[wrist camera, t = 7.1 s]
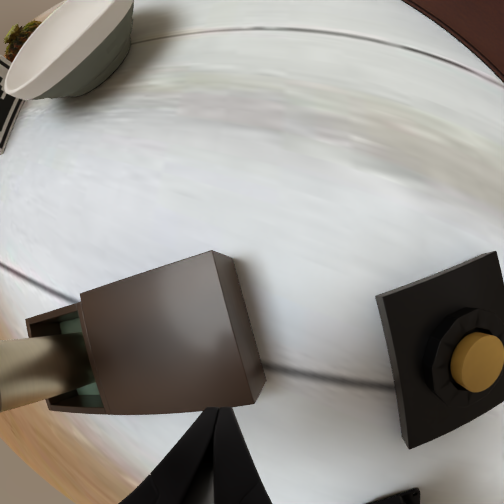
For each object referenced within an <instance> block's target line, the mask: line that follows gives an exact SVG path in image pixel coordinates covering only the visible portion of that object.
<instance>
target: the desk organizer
mask: <svg viewBox="0 0 504 504" xmlns="http://www.w3.org/2000/svg"><path fill="white" fill-rule="evenodd" d="M403 1H404V2H406V3H407V4H409V5H411V6H412V7H414V8H415V9H417V10H419V11H420V12H422V13H423V14H425V15H426V16H427V17H429V18H430V19H432V20H433V21H435V22H436V23H437V24H439V25H440V26H441V27H443V28H444V29H445V30H447V31H448V32H449V33H451V34H452V35H453V36H455V37H456V38H457V39H458V40H460V41H461V42H462V43H463V44H464V45H466V46H467V47H468V48H469V49H470V50H471V51H473V52H474V53H475V54H476V55H477V56H478V57H479V58H480V59H482V60H483V61H484V62H485V63H486V64H487V65H488V66H489V67H490V68H491V69H492V70H493V71H494V72H495V73H496V74H497V75H498V76H499V77H500V78H501V79H502V80H503V82H504V0H403Z"/></svg>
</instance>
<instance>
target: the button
mask: <svg viewBox="0 0 504 504" xmlns="http://www.w3.org/2000/svg"><path fill="white" fill-rule="evenodd" d="M503 364H504V347H503V344H502V342H501V341H500V339H499V338H497V337H496V336H493V335H489V334H485V333H481V332H474V333H471V334H469V335H467V336H465V337H464V338H463V339H462V340H461V341H460V342H459V343H458V345H457V346H456V348H455V350H454V352H453V355H452V358H451V363H450V370H451V375H452V377H453V379H454V380H455V382H457V383H458V384H460V385H461V386H463V387H464V388H466V389H467V390H469V391H471V392H481V391H483V390H485V389H487V388H488V387H490V386H491V385H492V384H493V383H494V382H495V380H496V379H497V378H498V376H499V374H500V372H501V370H502V367H503Z"/></svg>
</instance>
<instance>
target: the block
mask: <svg viewBox="0 0 504 504" xmlns="http://www.w3.org/2000/svg"><path fill="white" fill-rule="evenodd" d="M11 64H12V63H11V62H10V61H9V60H7V59H6V58H5V57H3V56H2V55H0V155H2V154H3V152H4V149H5V146H6V144H7V141H8V138H9V136H10V133H11V130H12V128H13V125H14V123H15V120H16V118H17V116H18V113H19V111H20V109H21V107H22V105H23V102H24V100H23V99H19V98H16V97H13V96H11V95H9V94H7V93H6V92H5V90H4V83H5V79H6V75H7V73H8V71H9V68H10V66H11Z"/></svg>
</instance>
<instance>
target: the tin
mask: <svg viewBox="0 0 504 504" xmlns="http://www.w3.org/2000/svg"><path fill="white" fill-rule="evenodd" d="M95 382H96V381H95V378H94V375H93V371H92V368H91V364H90V361H89V357H88V353H87V349H86V345H85V341H84V337H83V333H82V332H76V333H68V334H60V335H52V336H43V337H34V338H24V339H14V340H2V341H0V412H3V411H7V410H11V409H14V408H18V407H21V406H25V405H28V404H31V403H35V402H38V401H41V400H44V399H47V398H51V397H54V396H57V395H60V394H63V393H66V392H69V391H72V390H75V389H78V388H81V387H84V386H86V385H89V384H92V383H95Z"/></svg>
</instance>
